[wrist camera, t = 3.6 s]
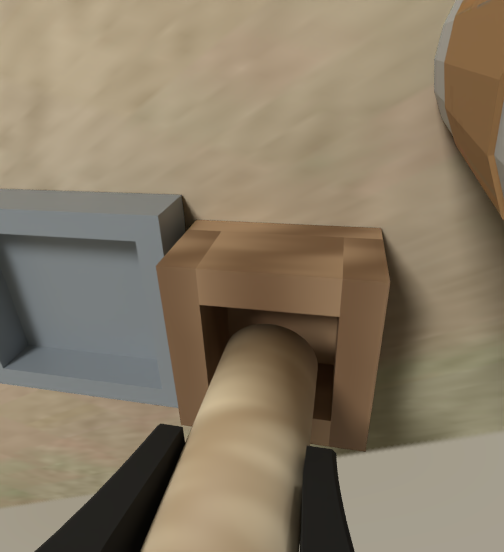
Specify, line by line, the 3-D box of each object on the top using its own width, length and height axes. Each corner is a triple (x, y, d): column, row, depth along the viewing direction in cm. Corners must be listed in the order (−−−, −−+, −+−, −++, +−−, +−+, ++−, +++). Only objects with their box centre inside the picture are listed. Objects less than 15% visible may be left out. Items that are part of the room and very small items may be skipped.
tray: (181, 194, 16) (157, 215, 14) (202, 373, 20) (186, 409, 18) (-38, 187, 18) (-86, 205, 16) (23, 352, 22) (-9, 382, 20)
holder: (380, 228, 15) (390, 282, 12) (362, 375, 18) (365, 451, 15) (196, 219, 16) (155, 266, 13) (210, 358, 20) (181, 424, 16)
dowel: (320, 328, 13) (293, 571, 7) (315, 403, 14) (291, 655, 8) (221, 319, 14) (118, 535, 8) (227, 392, 15) (145, 619, 9)
